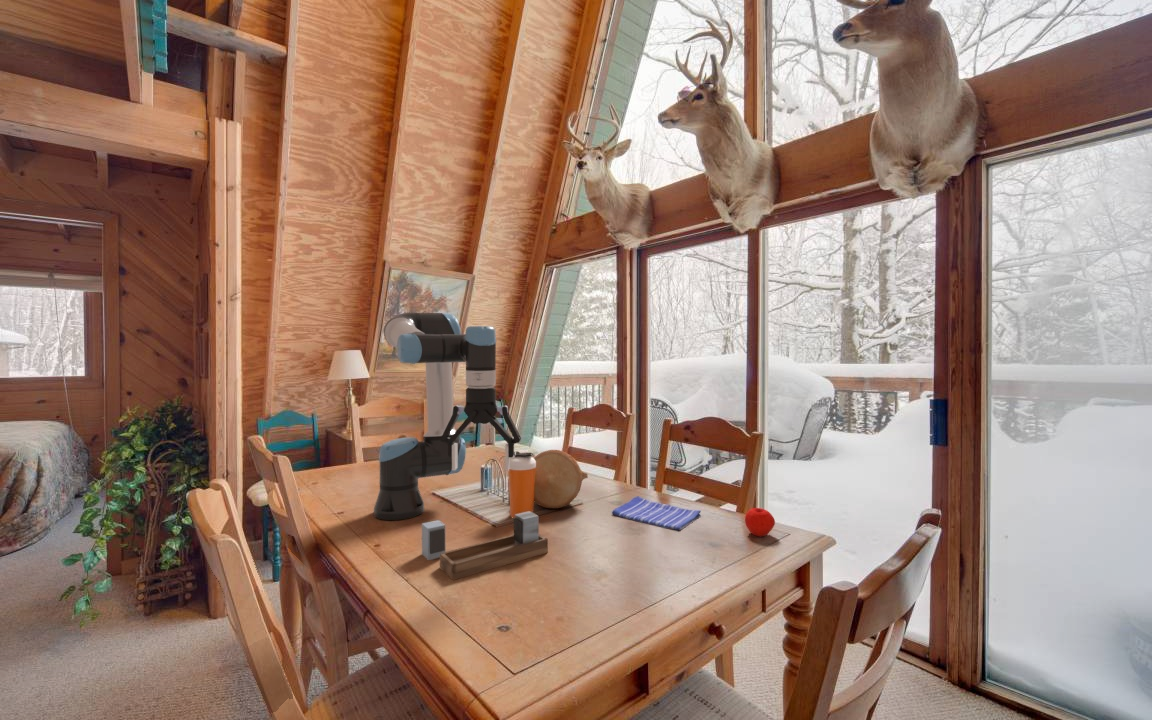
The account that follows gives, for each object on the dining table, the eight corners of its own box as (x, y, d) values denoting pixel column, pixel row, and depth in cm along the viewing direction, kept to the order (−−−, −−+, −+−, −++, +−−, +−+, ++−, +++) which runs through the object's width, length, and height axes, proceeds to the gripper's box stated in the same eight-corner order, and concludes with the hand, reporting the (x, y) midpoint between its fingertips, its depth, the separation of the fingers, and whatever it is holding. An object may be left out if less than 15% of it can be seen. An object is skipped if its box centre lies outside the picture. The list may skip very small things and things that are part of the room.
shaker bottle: (531, 522, 154) (531, 456, 154) (503, 520, 156) (503, 455, 155) (539, 512, 163) (539, 450, 162) (512, 510, 165) (512, 449, 164)
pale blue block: (438, 550, 134) (438, 520, 133) (446, 556, 129) (446, 525, 129) (422, 554, 131) (421, 523, 131) (429, 561, 127) (428, 529, 127)
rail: (439, 567, 123) (439, 528, 123) (531, 542, 139) (531, 508, 138) (452, 579, 117) (452, 539, 116) (547, 552, 132) (547, 516, 132)
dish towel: (636, 502, 175) (636, 494, 175) (702, 516, 161) (702, 507, 161) (609, 516, 161) (609, 507, 161) (679, 533, 147) (679, 523, 147)
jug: (509, 477, 161) (518, 466, 191) (545, 526, 160) (548, 507, 190) (559, 439, 162) (560, 433, 192) (595, 487, 161) (591, 474, 191)
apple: (778, 534, 145) (779, 508, 145) (767, 542, 139) (767, 515, 139) (751, 527, 150) (752, 502, 150) (739, 534, 145) (740, 508, 144)
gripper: (427, 387, 126) (428, 472, 127) (527, 388, 125) (527, 473, 126) (436, 385, 134) (437, 465, 134) (531, 385, 133) (531, 466, 134)
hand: (481, 469), depth 130 cm, fingers open, 13 cm apart
